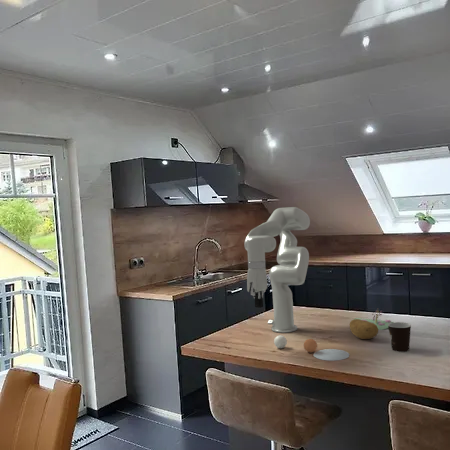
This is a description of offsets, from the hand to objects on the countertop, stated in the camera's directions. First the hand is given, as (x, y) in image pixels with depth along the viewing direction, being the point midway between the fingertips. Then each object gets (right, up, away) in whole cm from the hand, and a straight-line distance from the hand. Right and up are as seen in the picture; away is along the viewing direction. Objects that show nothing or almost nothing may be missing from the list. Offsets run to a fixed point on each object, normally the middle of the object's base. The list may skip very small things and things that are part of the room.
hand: (259, 307), depth 209 cm
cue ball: (+9, -14, -5) cm, 17 cm away
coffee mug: (+56, -14, -16) cm, 60 cm away
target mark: (+28, -16, -18) cm, 37 cm away
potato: (+47, -14, +1) cm, 49 cm away
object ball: (+20, -14, -13) cm, 27 cm away
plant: (+57, -13, +26) cm, 64 cm away
